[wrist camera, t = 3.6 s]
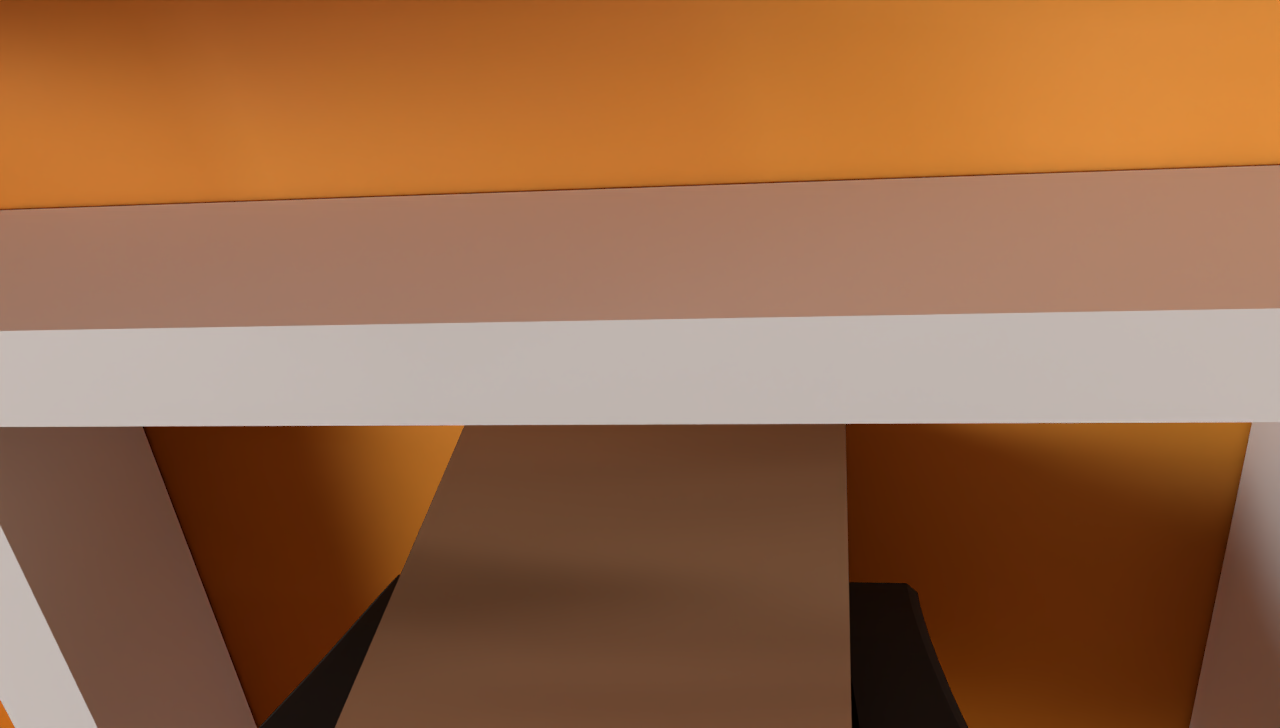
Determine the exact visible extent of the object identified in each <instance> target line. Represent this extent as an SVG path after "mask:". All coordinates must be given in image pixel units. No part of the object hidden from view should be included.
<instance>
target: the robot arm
mask: <svg viewBox="0 0 1280 728" xmlns="http://www.w3.org/2000/svg"><path fill="white" fill-rule="evenodd" d="M399 577H400V575H398V576H397V577H396V578H395V579H394V580H393V581H392V582H391V583H390V584H389V585H388V586H387V588H386V589H385V590H384V591H383V592H382V593H381V594H380V595H379V596H378V597H377V599H376V600H375V601H374V602H373V603H372V604H371V605H370V606H369V608H368V609H367V610H366V611H365V612H364V613H363V614H362V615H361V617H360V618H359V619H358V620H357V621H356V622H355V623H354V624H353V626H352V627H351V628H350V629H349V630H348V631H347V632H346V634H345V635H344V636H343V637H342V638H341V639H340V640H339V641H338V643H337V644H336V645H335V646H334V647H333V648H332V649H331V650H330V651H329V653H328V654H327V655H326V656H325V657H324V658H323V659H322V660H321V661H320V663H319V664H318V665H317V666H316V667H315V668H314V669H313V670H312V671H311V673H310V674H309V675H308V676H307V677H306V678H305V679H304V680H303V681H302V682H301V683H300V684H299V685H298V686H297V688H296V689H295V690H294V691H293V692H292V693H291V694H290V695H289V696H288V697H287V698H286V699H285V700H284V701H283V702H282V704H281V705H280V706H279V707H278V708H277V709H276V710H275V711H274V712H273V713H272V714H271V715H270V716H269V717H268V718H267V720H266V721H265V722H264V723H263V724H262V725H261V726H260V727H259V728H335V726H336V724H337V721H338V719H339V717H340V714H341V712H342V710H343V707H344V705H345V703H346V700H347V698H348V696H349V693H350V691H351V689H352V687H353V684H354V682H355V680H356V677H357V675H358V673H359V670H360V668H361V666H362V663H363V661H364V659H365V656H366V654H367V652H368V649H369V647H370V645H371V642H372V640H373V638H374V635H375V633H376V631H377V628H378V626H379V624H380V621H381V619H382V617H383V614H384V612H385V610H386V607H387V605H388V603H389V600H390V598H391V596H392V593H393V591H394V589H395V586H396V584H397V582H398V579H399ZM849 618H850V669H851V719H852V728H968V726H967V724H966V722H965V720H964V718H963V716H962V714H961V712H960V709H959V707H958V705H957V703H956V701H955V698H954V696H953V694H952V692H951V690H950V687H949V685H948V682H947V680H946V677H945V675H944V673H943V670H942V668H941V665H940V663H939V661H938V658H937V655H936V653H935V650H934V647H933V645H932V642H931V639H930V636H929V633H928V630H927V627H926V624H925V621H924V617H923V614H922V611H921V607H920V603H919V598H918V593H917V592H916V591H915V590H914V589H913V588H911V587H910V586H909V585H908V584H907V583H859V582H849Z"/></svg>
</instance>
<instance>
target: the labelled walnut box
mask: <svg viewBox="0 0 1280 728" xmlns="http://www.w3.org/2000/svg"><path fill="white" fill-rule="evenodd" d="M335 728H852V719H851V669H850V618H849V568H848V517H847V466H846V424H645V425H465V426H464V428H463V430H462V433H461V435H460V437H459V440H458V442H457V444H456V447H455V449H454V451H453V454H452V456H451V458H450V461H449V463H448V465H447V468H446V470H445V472H444V475H443V477H442V479H441V482H440V484H439V486H438V489H437V491H436V493H435V496H434V498H433V500H432V503H431V505H430V507H429V510H428V512H427V514H426V516H425V519H424V521H423V523H422V526H421V528H420V530H419V533H418V535H417V537H416V540H415V542H414V544H413V547H412V549H411V551H410V554H409V556H408V558H407V561H406V563H405V565H404V568H403V570H402V572H401V575H400V577H399V579H398V582H397V584H396V586H395V589H394V591H393V593H392V596H391V598H390V600H389V603H388V605H387V607H386V610H385V612H384V614H383V617H382V619H381V621H380V624H379V626H378V628H377V631H376V633H375V635H374V638H373V640H372V642H371V645H370V647H369V649H368V652H367V654H366V656H365V659H364V661H363V663H362V666H361V668H360V670H359V673H358V675H357V677H356V680H355V682H354V684H353V687H352V689H351V691H350V693H349V696H348V698H347V700H346V703H345V705H344V707H343V710H342V712H341V714H340V717H339V719H338V721H337V724H336V726H335Z"/></svg>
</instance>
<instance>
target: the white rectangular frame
mask: <svg viewBox="0 0 1280 728" xmlns="http://www.w3.org/2000/svg"><path fill="white" fill-rule="evenodd" d="M1169 422H1252V426H1251V430H1250V435H1249V440H1248V445H1247V450H1246V455H1245V459H1244V464H1243V469H1242V474H1241V479H1240V484H1239V489H1238V493H1237V498H1236V503H1235V508H1234V513H1233V518H1232V523H1231V527H1230V532H1229V537H1228V542H1227V547H1226V552H1225V556H1224V561H1223V566H1222V571H1221V576H1220V581H1219V586H1218V590H1217V595H1216V600H1215V605H1214V610H1213V615H1212V620H1211V624H1210V629H1209V634H1208V639H1207V644H1206V649H1205V653H1204V658H1203V663H1202V668H1201V673H1200V678H1199V683H1198V687H1197V692H1196V697H1195V702H1194V707H1193V712H1192V717H1191V721H1190V726H1189V728H1280V165H1272V166H1243V167H1215V168H1186V169H1158V170H1129V171H1101V172H1072V173H1044V174H1016V175H987V176H959V177H930V178H902V179H873V180H845V181H817V182H788V183H760V184H731V185H703V186H674V187H646V188H617V189H589V190H561V191H532V192H504V193H475V194H447V195H418V196H390V197H362V198H333V199H305V200H276V201H248V202H219V203H191V204H163V205H134V206H106V207H77V208H49V209H20V210H0V700H1V702H2V704H3V706H4V707H5V709H6V711H7V713H8V715H9V717H10V719H11V721H12V722H13V724H14V726H15V728H257V727H256V724H255V721H254V719H253V716H252V714H251V711H250V708H249V706H248V703H247V700H246V698H245V695H244V692H243V690H242V687H241V685H240V682H239V679H238V677H237V674H236V671H235V669H234V666H233V663H232V661H231V658H230V656H229V653H228V650H227V648H226V645H225V642H224V640H223V637H222V635H221V632H220V629H219V627H218V624H217V621H216V619H215V616H214V613H213V611H212V608H211V606H210V603H209V600H208V598H207V595H206V592H205V590H204V587H203V585H202V582H201V579H200V577H199V574H198V571H197V569H196V566H195V563H194V561H193V558H192V556H191V553H190V550H189V548H188V545H187V542H186V540H185V537H184V535H183V532H182V529H181V527H180V524H179V521H178V519H177V516H176V513H175V511H174V508H173V506H172V503H171V500H170V498H169V495H168V492H167V490H166V487H165V485H164V482H163V479H162V477H161V474H160V471H159V469H158V466H157V463H156V461H155V458H154V456H153V453H152V450H151V448H150V445H149V442H148V440H147V437H146V435H145V432H144V429H143V427H142V426H383V425H645V424H907V423H1169Z"/></svg>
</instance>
